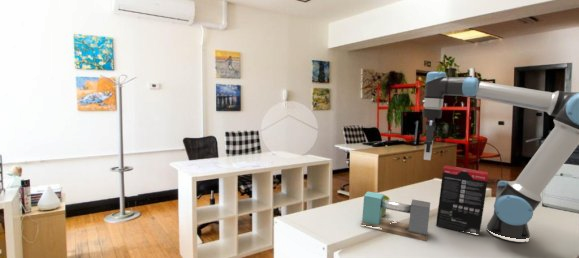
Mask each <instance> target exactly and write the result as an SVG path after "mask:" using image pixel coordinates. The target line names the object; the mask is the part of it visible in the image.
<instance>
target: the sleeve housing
mask: <svg viewBox="0 0 579 258" xmlns="http://www.w3.org/2000/svg"><path fill="white" fill-rule="evenodd" d="M411 200H412V201H411V204H410V205H411V210H410V213H409V220H408V224H409V230H408V232H411V233H415V234H420V235H424V236H427V237H428V228H429V218H430V211H431V210H430V209H431V202H430V201H424V200H419V199H413V198H412V199H411Z"/></svg>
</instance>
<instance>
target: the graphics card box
mask: <svg viewBox="0 0 579 258" xmlns="http://www.w3.org/2000/svg"><path fill="white" fill-rule="evenodd" d="M488 179H489V172H488V171H483V170H477V169H471V168H464V167H458V166H453V165H446V164H445V165H444V166H443V167H442V177H441V182H440V185H441V186H440V192H439V197H438V198H439V200H438V201H439V202H438V207H437V215H436V216H437V217H436V222H435V223H436V226H437V227H441V228H444V229H450V230H453V231H456V230H458V231H457V232H460V231H464V232H470V233H476V234H479V235H480V232H481V227H482V220H483V214H484V208H485V200H486V195H487V187H488ZM464 232H463V233H464Z"/></svg>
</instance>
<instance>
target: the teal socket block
mask: <svg viewBox="0 0 579 258" xmlns="http://www.w3.org/2000/svg"><path fill="white" fill-rule="evenodd" d="M383 195H384V193H380V192H374V191H366V193H365V194H364V195H363V207H362V220H361V223H362V222H365V223H369V224H374V225H379V223H380V221H381V219H382V217H383V216H382V208H381V200H383Z"/></svg>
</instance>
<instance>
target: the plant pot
mask: <svg viewBox="0 0 579 258" xmlns="http://www.w3.org/2000/svg"><path fill="white" fill-rule="evenodd" d="M383 200H386V201H390V196H388V195H386V194H385V195H384V194H383ZM386 211H387V209H384V208H382V217H385V216H386ZM384 215H385V216H384Z"/></svg>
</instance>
